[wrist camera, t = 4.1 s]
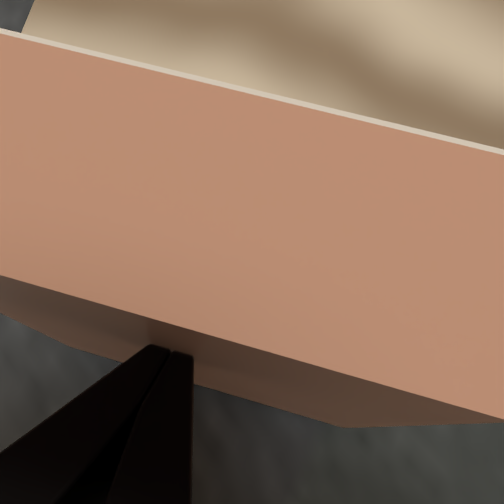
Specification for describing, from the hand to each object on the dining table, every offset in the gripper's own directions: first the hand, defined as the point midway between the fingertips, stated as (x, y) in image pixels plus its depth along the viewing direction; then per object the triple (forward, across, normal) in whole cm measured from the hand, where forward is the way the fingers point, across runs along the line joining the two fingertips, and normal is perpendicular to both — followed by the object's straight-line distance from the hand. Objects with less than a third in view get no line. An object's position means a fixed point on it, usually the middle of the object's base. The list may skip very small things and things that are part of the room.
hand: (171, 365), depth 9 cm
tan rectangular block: (+6, 0, +5) cm, 7 cm away
